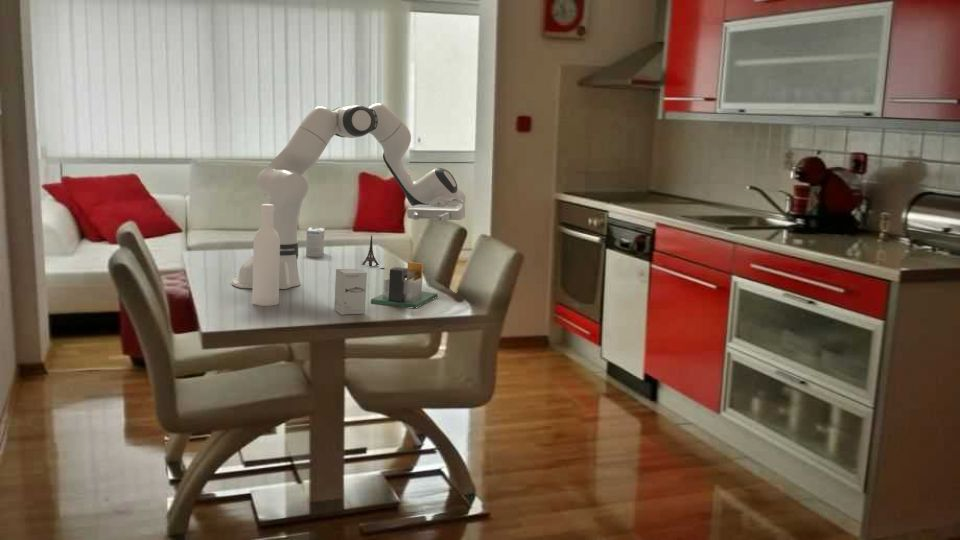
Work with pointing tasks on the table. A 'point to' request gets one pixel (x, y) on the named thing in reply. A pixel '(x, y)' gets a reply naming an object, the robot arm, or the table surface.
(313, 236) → the light bulb box
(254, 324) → the table surface
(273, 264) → the bottle
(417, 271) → the yellow rectangular block
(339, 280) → the supplement box
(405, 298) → the heatsink board
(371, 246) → the eiffel tower figurine
